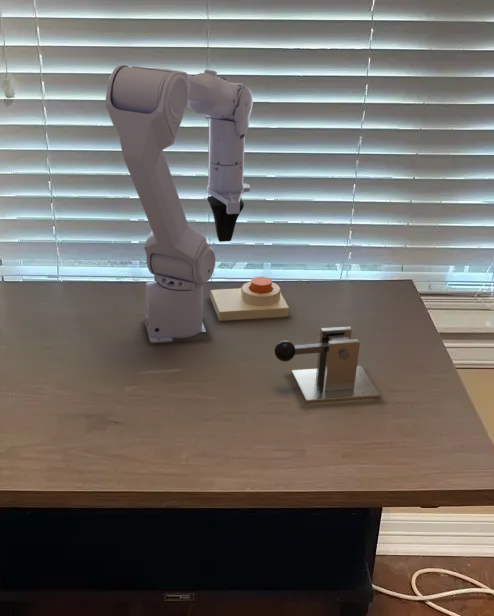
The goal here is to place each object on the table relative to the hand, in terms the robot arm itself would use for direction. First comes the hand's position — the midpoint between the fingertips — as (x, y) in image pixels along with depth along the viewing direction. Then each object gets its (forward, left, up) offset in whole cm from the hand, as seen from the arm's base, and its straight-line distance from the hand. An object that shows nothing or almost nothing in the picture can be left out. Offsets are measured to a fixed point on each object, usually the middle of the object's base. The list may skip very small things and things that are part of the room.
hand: (224, 240), depth 158 cm
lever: (+7, -34, -5) cm, 35 cm away
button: (+6, -5, -7) cm, 11 cm away
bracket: (+11, -34, -10) cm, 37 cm away
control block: (+4, -5, -10) cm, 12 cm away
